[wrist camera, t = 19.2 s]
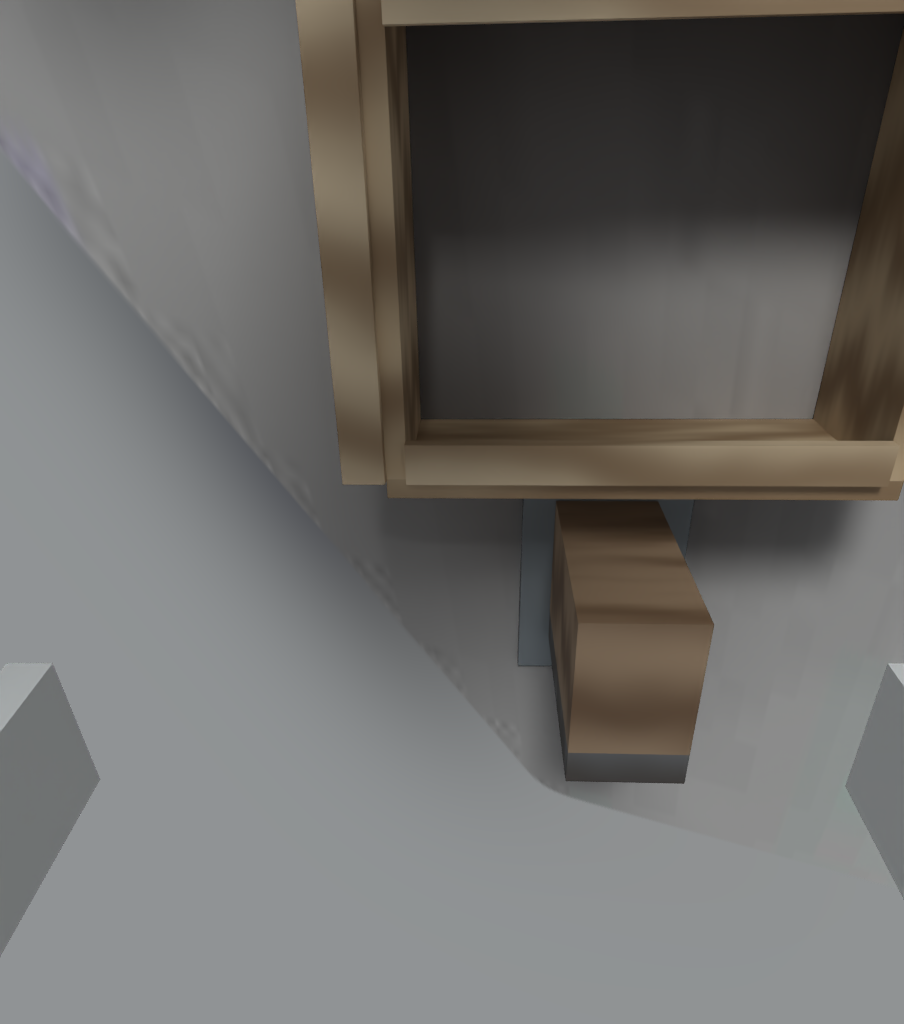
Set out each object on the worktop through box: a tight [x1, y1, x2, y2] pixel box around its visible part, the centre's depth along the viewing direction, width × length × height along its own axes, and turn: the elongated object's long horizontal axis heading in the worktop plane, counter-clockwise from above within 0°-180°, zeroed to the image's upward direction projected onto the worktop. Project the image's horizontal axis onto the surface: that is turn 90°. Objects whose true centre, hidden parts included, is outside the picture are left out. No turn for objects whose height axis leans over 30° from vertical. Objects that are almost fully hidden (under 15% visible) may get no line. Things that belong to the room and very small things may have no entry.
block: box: [548, 501, 714, 784], centre depth 40 cm, size 10×6×12 cm, turn 1°
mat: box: [518, 499, 694, 666], centre depth 46 cm, size 15×10×1 cm, turn 1°
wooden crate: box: [295, 0, 904, 500], centre depth 33 cm, size 22×28×9 cm
